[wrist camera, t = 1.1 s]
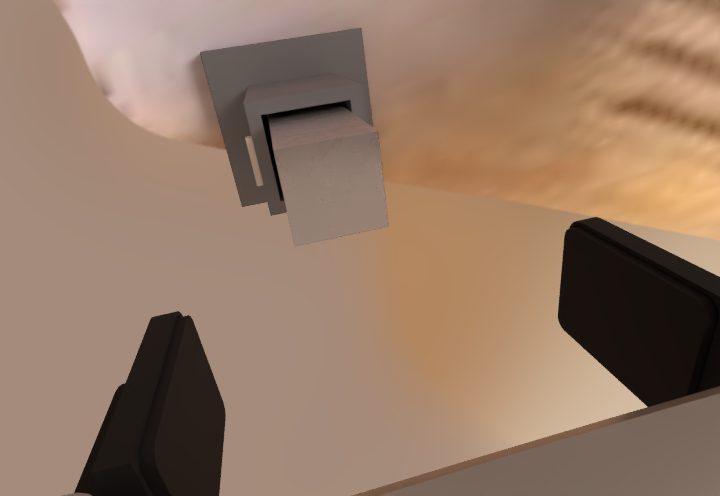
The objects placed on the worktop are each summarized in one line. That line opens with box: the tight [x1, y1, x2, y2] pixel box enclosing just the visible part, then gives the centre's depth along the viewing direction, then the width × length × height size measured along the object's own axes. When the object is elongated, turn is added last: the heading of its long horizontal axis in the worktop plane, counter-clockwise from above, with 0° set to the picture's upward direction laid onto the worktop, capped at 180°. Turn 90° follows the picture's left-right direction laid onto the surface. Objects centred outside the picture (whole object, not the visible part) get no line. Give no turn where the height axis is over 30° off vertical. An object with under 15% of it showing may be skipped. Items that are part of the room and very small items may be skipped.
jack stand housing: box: [200, 28, 373, 215], centre depth 33 cm, size 13×13×14 cm
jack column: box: [268, 102, 389, 246], centre depth 29 cm, size 5×5×20 cm
